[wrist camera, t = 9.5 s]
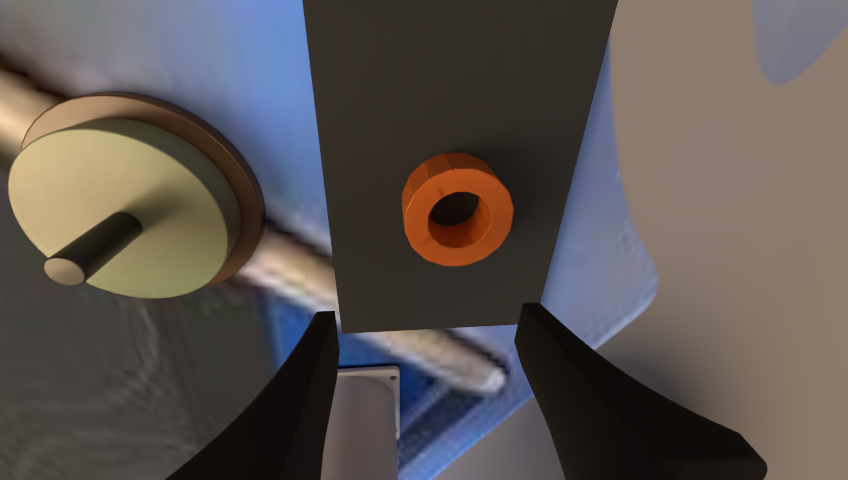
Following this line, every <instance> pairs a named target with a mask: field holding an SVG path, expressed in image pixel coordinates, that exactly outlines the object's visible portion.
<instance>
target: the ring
mask: <svg viewBox="0 0 848 480" xmlns="http://www.w3.org/2000/svg"><path fill="white" fill-rule="evenodd" d="M454 192H471V193H473V194H476V195H478V196H479V202H478V206H477V208H476V210H475V212H474V213H473V215H472V216H471V217H470V218H468V219H467V220H466V221H465V222H462V223H460V224H457V225H454V226H443V225H440V224H437V223H435V222H434V221H433V220H431V219H430V218H429V214H430V212H431V210H432V208H433V206H434V205H435V204H436V203H437V202H438V201H439V200H440V199H441V198H443V197H444V196H447V195H449V194H452V193H454ZM513 210H514V208H513V204H512V201H511V197H510V193H509V192H508V190H507V188H506V187H505V186H504V185H503V183H502V182H501V181H500V180H499V178H498V177H497V176H496V174H495V173H494V172H493V171H492V170H491V169H490V168H489V166H488V165H487V164H486V163H485V162H484V161H482V160H481V159H479V158H476V157H474V156H472V155H469V154H467V153H445V154H444V153H443V154H440V155H438V156H435V157H433V158H430V159H428V160H426V162H425V161H424V162H423V163H422V164H421V165H420V166H419V167H418V168H417V169H416V170H415V171H414V172H413V173H411V175H410V176H409V178H408V181H407V183H406V185H405V187H404V190H403V193H402V212H403V220H404V228H405V233H406V235H407V238H408V240H409V242H410V244H411V246H412V248H413V249H414V250H415V251H416V252H417V253H419V254H420V255H421V256H422V257H423V258H425V259H426V260H428V261H431V262H434V263H437V264H440V265H443V266H445V265H446V266H464V265H468V264H471V263H474V262H477V261H479V260H482V259H484V258H486V257H487V256H488V255H490V254H491V253H492V252H493V251H495V250H496V249H497V248H498V247H499V246H501V244H502V243H503V241H504V239H505V238H506V236H507V235H508V233H509V231H510V228H511V224H512V218H513V212H514V211H513Z"/></svg>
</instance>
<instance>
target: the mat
mask: <svg viewBox="0 0 848 480" xmlns="http://www.w3.org/2000/svg"><path fill="white" fill-rule="evenodd" d="M617 2H618V0H303V9H304V17H305V26H306V34H307V42H308V51H309V59H310V68H311V76H312V85H313V93H314V101H315V110H316V118H317V127H318V135H319V143H320V152H321V160H322V169H323V177H324V186H325V194H326V202H327V211H328V219H329V228H330V236H331V244H332V253H333V261H334V270H335V278H336V286H337V295H338V303H339V312H340V320H341V329H342V333H343V334H344V333H363V332H382V331H401V330H420V329H439V328H457V327H476V326H495V325H514V324H518V323H519V318H520V314H521V310H522V305H523V303H534V302H538V303H539V304H540V301H541V297H542V294H543V290H544V286H545V282H546V278H547V274H548V270H549V266H550V262H551V259H552V255H553V251H554V247H555V243H556V239H557V235H558V231H559V228H560V224H561V220H562V216H563V212H564V208H565V204H566V200H567V197H568V193H569V189H570V185H571V181H572V177H573V173H574V169H575V165H576V162H577V158H578V154H579V150H580V146H581V142H582V138H583V134H584V131H585V127H586V123H587V119H588V115H589V111H590V107H591V103H592V99H593V96H594V92H595V88H596V84H597V80H598V76H599V72H600V68H601V65H602V61H603V57H604V53H605V49H606V45H607V41H608V37H609V33H610V30H611V26H612V22H613V18H614V14H615V10H616V6H617ZM443 153H444V154H445V153H467V154H469V155H472V156H474V157H476V158H479V159H481V160H482V161H484V162H485V163H486V164H487V165H488V166H489V168H490V169H491V170H492V171H493V172H494V173H495V174H496V176H497V177H498V178H499V180H500V181H501V182H502V183H503V185H504V186H505V187H506V188H507V190H508V192H509V193H510V197H511V201H512V204H513V208H514V210H513V211H514V212H513V218H512V224H511V228H510V231H509V233H508V235H507V236H506V238H505V239H504V241H503V243H502V244H501V246H499V247H498V248H497V249H496V250H495V251H493V252H492V253H491V254H490V255H488V256H487V257H486V258H484V259H482V260H479V261H477V262H474V263H471V264H468V265H464V266H446V265H445V266H443V265H440V264H437V263H434V262H431V261H428V260H426V259H425V258H423V257H422V256H421V255H420V254H419V253H417V252H416V251H415V250H414V249H413V248H412V246H411V244H410V242H409V240H408V238H407V235H406V233H405V228H404V220H403V212H402V193H403V190H404V187H405V185H406V183H407V181H408V178H409V176H410V175H411V173H413V172H414V171H415V170H416V169H417V168H418V167H419V166H420V165H421V164H422V163H423V162H424V161H425V162H426V160H428V159H430V158H433V157H435V156H438V155H440V154H443ZM478 202H479V196H478V195H476V194H473V193H471V192H454V193H452V194H449V195H447V196H444V197H443V198H441V199H440V200H439V201H438V202H437V203H436V204H435V205H434V206H433V208H432V210H431V212H430V214H429V218H430V219H431V220H433V221H434V222H435V223H437V224H440V225H443V226H454V225H457V224H460V223H462V222H465V221H466V220H467V219H468V218H470V217H471V216H472V215H473V213H474V212H475V210H476V208H477V206H478Z"/></svg>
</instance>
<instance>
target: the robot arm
mask: <svg viewBox="0 0 848 480" xmlns="http://www.w3.org/2000/svg"><path fill="white" fill-rule="evenodd" d="M514 342H515V345H516V349H517V352H518V356H519V359H520V362H521V365H522V368H523V370H524V372H525V375H526V377H527V379H528V382H529V384H530V386H531V388H532V391H533V393H534V395H535V397H536V399H537V402H538V404H539V406H540V408H541V411H542V413H543V415H544V418H545V420H546V422H547V425H548V427H549V430H550V433H551V436H552V439H553V442H554V445H555V448H556V451H557V453H558V457H559V460H560V463H561V466H562V469H563V473H564V476H565V479H566V480H763V479H764V478H765V476H766V473H767V465H766V462H765V461H764V460H763V459H762V458H761V457H760V456H759V454H758V453H757V452H756V451H755V450H754V449H753V448H752V447H751V446H750V444H748V442H747V441H746V440H745V439H744V438H743V437H742V436H741V434H740V433H737V432H735V431H733V430H731V429H729V428H726V427H724V426H722V425H720V424H718V423H715V422H713V421H711V420H709V419H707V418H704V417H702V416H700V415H698V414H696V413H694V412H692V411H690V410H688V409H686V408H684V407H682V406H680V405H678V404H676V403H675V402H673V401H671V400H669V399H667V398H665V397H664V396H662V395H660V394H658V393H656V392H655V391H653V390H651V389H649V388H648V387H646V386H645V385H643V384H641V383H640V382H638V381H637V380H635V379H634V378H632V377H630V376H629V375H627V374H626V373H624V372H623V371H622V370H620V369H618V368H617V367H616V366H614V365H613V364H611V363H610V362H609V361H607V360H606V359H604V358H603V357H602V356H601V355H599V354H598V353H597V352H595V351H594V350H593V349H592V348H590V347H589V346H588V345H587V344H585V343H584V342H583V341H582V340H581V339H579V338H578V337H577V336H576V335H575V334H573V333H572V332H571V331H570V330H569V329H568V328H567V327H565V326H564V325H563V324H562V323H561V322H560V321H559V320H558V319H556V318H555V317H554V316H553V315H552V314H551V313H550V312H549V311H547V310H546V309H545V308H544V307H543V306H542V305H541V304H539V303H538V302H534V303H523V305H522V310H521V314H520V318H519V323H518V327H517V331H516V336H515V340H514ZM338 362H339V343H338V335H337V326H336V318H335V311H322V312H317V313H316V314H315V315H314V317H313V319H312V321H311V322H310V324H309V326H308V328H307V329H306V331H305V333H304V334H303V336H302V337H301V339H300V341H299V342H298V344H297V345H296V346H295V348H294V349H293V351H292V352H291V354H290V355H289V357H288V358H287V360H286V361H285V362H284V364H283V365H282V366H281V367H280V369H279V370H278V371H277V373H276V374H275V375H274V377H273V378H272V379H271V380H270V382H269V383H268V384H267V385H266V386H265V388H264V389H263V390H262V391H261V392H260V393H259V394H258V396H257V397H256V398H255V399H254V400H253V401H252V402H251V403H250V404H249V405H248V406H247V407H246V409H245V410H244V411H243V412H242V413H241V414H240V415H239V416H238V417H237V418H236V419H235V420H234V421H233V422H232V423H231V424H230V425H229V426H228V427H227V428H226V429H224V430H223V431H222V432H221V433H220V434H219V435H218V436H217V437H216V438H214V439H213V440H212V441H211V442H210V443H209V444H208V445H207V446H206V447H204V448H203V449H202V450H201V451H200V452H199V453H198V454H196V455H195V456H194V457H193V458H192V459H190V460H189V461H188V462H187V463H185V464H184V465H183V466H182V467H180V468H179V469H178V470H177V471H175V472H174V473H173V474H172V475H170V476H169V477H168V478H166V479H165V480H398V469H397V443H396V440H397V439H399V438H400V370H399V368H398V367H397V366H379V367H364V368H348V369H338Z"/></svg>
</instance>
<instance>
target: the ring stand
mask: <svg viewBox="0 0 848 480" xmlns="http://www.w3.org/2000/svg"><path fill="white" fill-rule="evenodd" d="M8 195H9V200H10V205H11V207H12V210H13V213H14V215H15V217H16V219H17V221H18V223H19V225H20V227H21V228H22V230H23V231H24V232H25V234H26V235H27V237H28V238H29V239H30V240H31V241H32V243H33V244H34V245H35V246H36V247H37V248H38V249H39V250H40V251H41V252H42V253H43V254H44V255H45V256H46V257H47V258H48V259H46V260H45V262H44V265H43V268H44V271H45V273H46V274H47V275H48V277H50V278H51V279H52V280H54V281H55V282H57V283H60V284H62V285H66V286H78V285H81V284H83V283H85V282H87V283H89V284H91V285H93V286H96V287H98V288H101V289H104V290H107V291H110V292H114V293H117V294H121V295H126V296H132V297H140V298H168V297H174V296H179V295H183V294H186V293H189V292H192V291H194V290H196V289H198V288H201V287H205V286H209V285H212V284H215V283H218V282H220V281H222V280H224V279H227V278H229V277H230V276H232V275H233V274H235V273H236V272H238V271H239V270H240V269H241V268H242V267H243V266H244V265H245V264H246V263H247V262H248V261H249V259H250V258H251V257H252V255H253V253H254V251H255V250H256V248H257V246H258V244H259V242H260V240H261V237H262V234H263V229H264V223H265V210H264V203H263V198H262V195H261V191H260V188H259V185H258V183H257V181H256V179H255V176H254V174H253V173H252V171H251V169H250V168H249V166H248V164H247V163H246V161H245V160H244V159H243V158H242V156H241V155H240V154H239V152H238V151H237V150H236V149H235V148H234V147H233V146H232V145H231V144H230V143H229V141H228V140H227V139H226V138H224V137H223V136H222V135H221V134H220V133H219V132H217V131H216V130H215V129H214V128H212V127H211V126H210V125H208V124H207V123H205V122H204V121H202V120H201V119H200V118H198V117H196V116H194V115H192V114H191V113H189V112H187V111H185V110H184V109H181V108H179V107H177V106H174V105H172V104H170V103H167V102H165V101H161V100H158V99H155V98H152V97H148V96H143V95H138V94H133V93H123V92H101V93H93V94H88V95H83V96H79V97H74V98H71V99H68V100H65V101H63V102H60V103H57V104H56V105H54V106H52V107H51V108H49V109H47V110H45V111H44V112H43V113H42V114H41V115H40V116H39V117H38V118H37V119H35V121H34V122H33V123H32V125H31V126H30V128H29V129H28V130H27V132H26V135H25V137H24V139H23V142H22V145H21V150H20V153H19V154H18V156H17V157H16V158H15V160H14V162H13V164H12V166H11V169H10V172H9V178H8Z"/></svg>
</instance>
